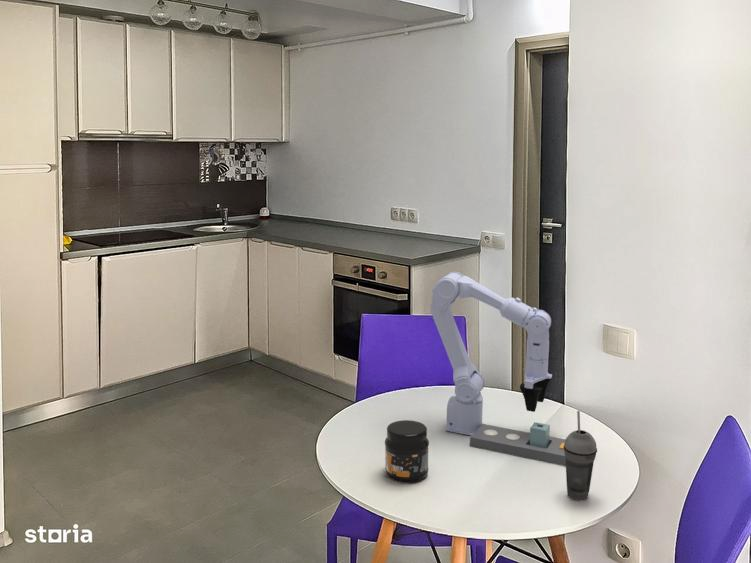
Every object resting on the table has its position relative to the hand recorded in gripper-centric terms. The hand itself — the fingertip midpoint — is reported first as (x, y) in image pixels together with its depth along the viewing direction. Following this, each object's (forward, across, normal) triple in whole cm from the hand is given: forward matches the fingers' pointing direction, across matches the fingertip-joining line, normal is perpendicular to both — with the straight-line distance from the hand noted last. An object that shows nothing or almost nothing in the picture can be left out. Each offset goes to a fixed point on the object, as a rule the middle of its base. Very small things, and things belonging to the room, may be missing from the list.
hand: (535, 406), depth 191 cm
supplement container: (+10, -34, +21) cm, 42 cm away
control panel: (+9, -7, +1) cm, 12 cm away
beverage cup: (+10, -26, -18) cm, 33 cm away
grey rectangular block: (+9, -7, -4) cm, 12 cm away
